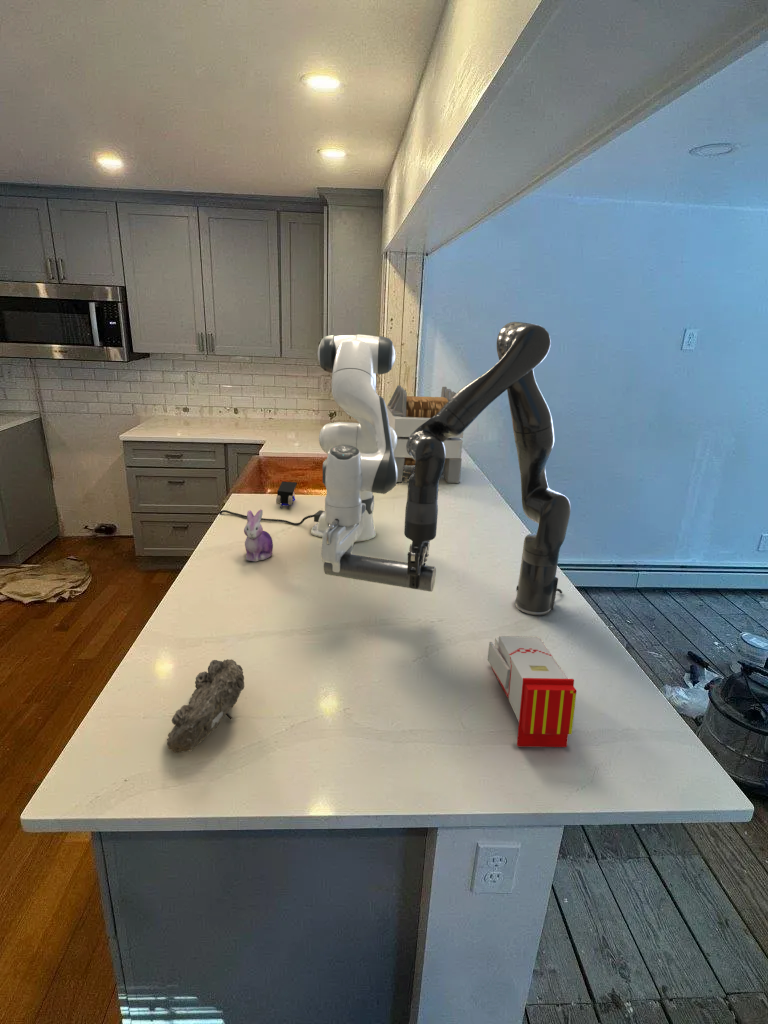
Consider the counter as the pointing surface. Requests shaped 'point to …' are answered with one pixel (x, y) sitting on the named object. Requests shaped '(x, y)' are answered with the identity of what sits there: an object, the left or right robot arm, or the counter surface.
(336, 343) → the left robot arm
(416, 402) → the transformer
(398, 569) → the rod
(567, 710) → the toy
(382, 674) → the counter surface
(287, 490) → the figurine character
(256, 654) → the counter surface
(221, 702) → the fossil
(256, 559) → the figurine
